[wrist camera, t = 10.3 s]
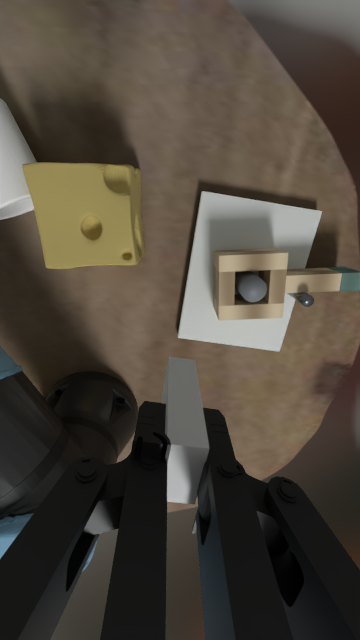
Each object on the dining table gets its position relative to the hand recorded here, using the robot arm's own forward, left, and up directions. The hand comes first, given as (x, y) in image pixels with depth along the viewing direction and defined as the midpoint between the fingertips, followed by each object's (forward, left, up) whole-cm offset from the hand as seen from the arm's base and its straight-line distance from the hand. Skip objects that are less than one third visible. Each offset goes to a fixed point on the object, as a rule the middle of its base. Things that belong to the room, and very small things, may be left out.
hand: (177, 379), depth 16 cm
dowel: (+1, -16, -24) cm, 29 cm away
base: (+2, -9, -26) cm, 27 cm away
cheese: (+7, +11, -26) cm, 29 cm away
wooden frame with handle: (+3, -13, -24) cm, 28 cm away
